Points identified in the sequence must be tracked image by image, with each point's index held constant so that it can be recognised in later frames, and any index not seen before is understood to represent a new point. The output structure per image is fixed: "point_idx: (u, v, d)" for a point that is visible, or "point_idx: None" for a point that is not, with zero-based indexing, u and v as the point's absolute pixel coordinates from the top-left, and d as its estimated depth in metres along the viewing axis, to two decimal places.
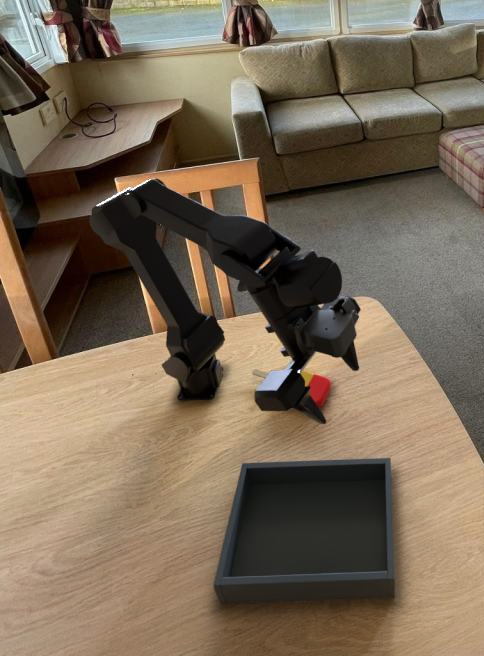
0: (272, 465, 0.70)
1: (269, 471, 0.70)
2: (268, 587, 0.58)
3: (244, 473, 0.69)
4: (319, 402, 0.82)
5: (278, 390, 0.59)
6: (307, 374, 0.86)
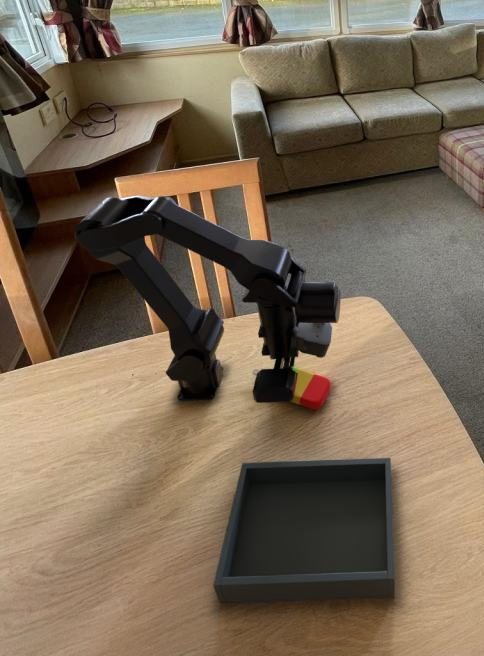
0: (272, 465, 0.70)
1: (269, 471, 0.70)
2: (268, 587, 0.58)
3: (244, 473, 0.69)
4: (319, 402, 0.82)
5: (287, 386, 0.74)
6: (307, 374, 0.87)
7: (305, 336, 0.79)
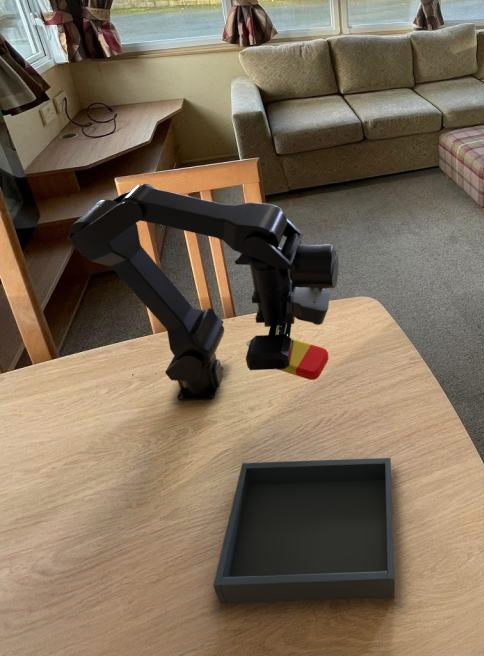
0: (272, 465, 0.70)
1: (269, 471, 0.70)
2: (268, 587, 0.58)
3: (244, 473, 0.69)
4: (316, 372, 0.78)
5: (282, 352, 0.70)
6: (304, 344, 0.83)
7: (301, 302, 0.75)
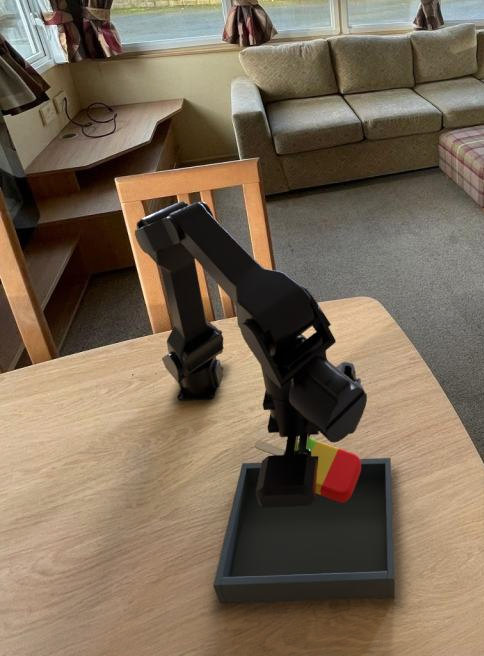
0: None
1: None
2: (268, 587, 0.58)
3: (244, 473, 0.69)
4: (347, 493, 0.60)
5: (305, 485, 0.52)
6: (329, 449, 0.64)
7: None
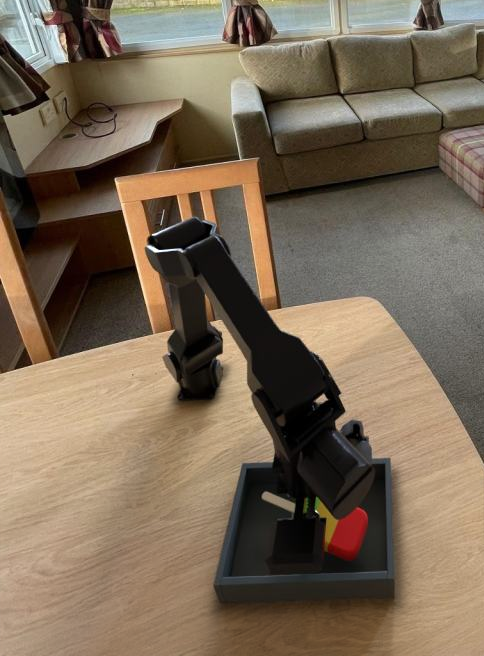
0: None
1: (269, 471, 0.70)
2: (268, 587, 0.58)
3: (244, 473, 0.69)
4: (354, 552, 0.60)
5: (314, 553, 0.52)
6: None
7: None
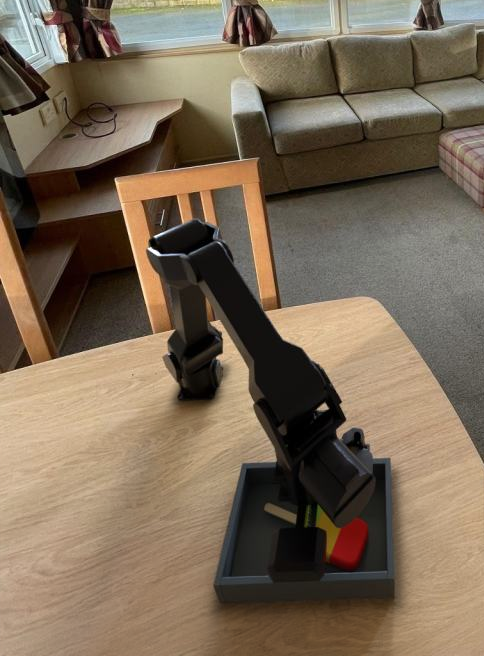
0: (272, 465, 0.70)
1: (269, 471, 0.70)
2: (268, 587, 0.58)
3: (244, 473, 0.69)
4: (355, 563, 0.61)
5: (316, 561, 0.52)
6: None
7: None
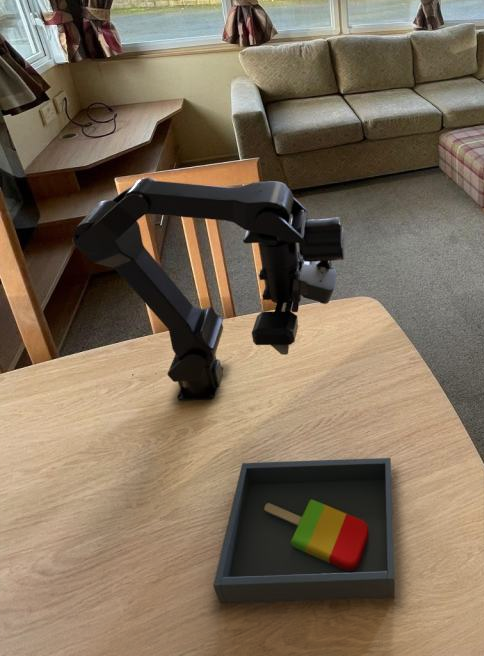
0: (272, 465, 0.70)
1: (269, 471, 0.70)
2: (268, 587, 0.58)
3: (244, 473, 0.69)
4: (355, 563, 0.61)
5: (287, 328, 0.71)
6: (337, 514, 0.66)
7: (308, 280, 0.76)
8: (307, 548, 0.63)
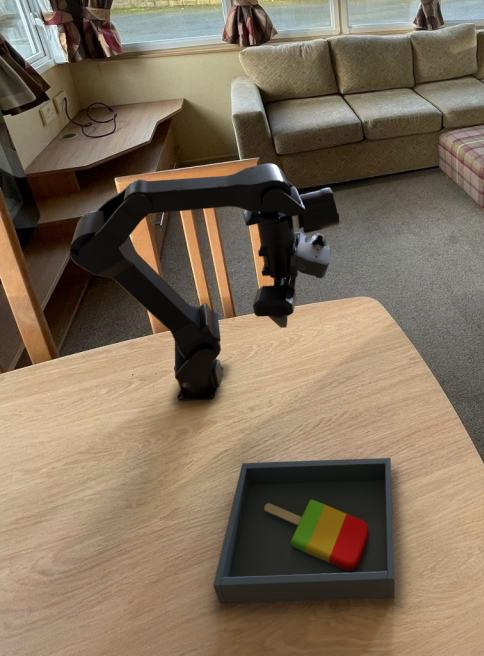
0: (272, 465, 0.70)
1: (269, 471, 0.70)
2: (268, 587, 0.58)
3: (244, 473, 0.69)
4: (355, 563, 0.61)
5: (286, 300, 0.75)
6: (337, 514, 0.66)
7: (304, 256, 0.81)
8: (307, 548, 0.63)
